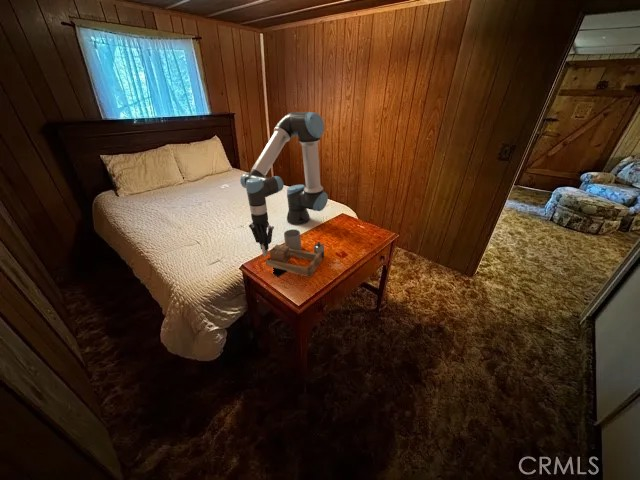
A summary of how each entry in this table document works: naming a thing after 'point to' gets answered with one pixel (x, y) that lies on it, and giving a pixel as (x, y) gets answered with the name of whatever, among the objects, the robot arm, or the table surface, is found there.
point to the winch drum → (319, 248)
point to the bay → (298, 269)
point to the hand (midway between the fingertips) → (265, 254)
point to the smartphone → (278, 272)
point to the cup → (292, 239)
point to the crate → (280, 253)
